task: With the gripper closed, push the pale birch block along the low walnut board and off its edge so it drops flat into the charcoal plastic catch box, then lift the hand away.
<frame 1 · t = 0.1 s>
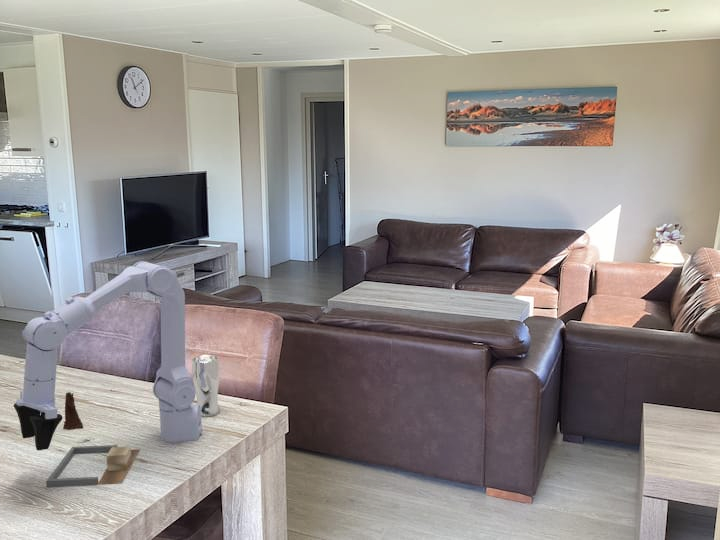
hand: (35, 443, 129), 11 cm above the table, tool pointing down, fingers open, 7 cm apart
birch block: (119, 465, 138), point 1 cm above the table, touching walnut board
walnut board: (120, 471, 138), on the table
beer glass: (207, 412, 169), on the table
chess piece: (73, 431, 159), on the table
catch box: (84, 473, 138), on the table
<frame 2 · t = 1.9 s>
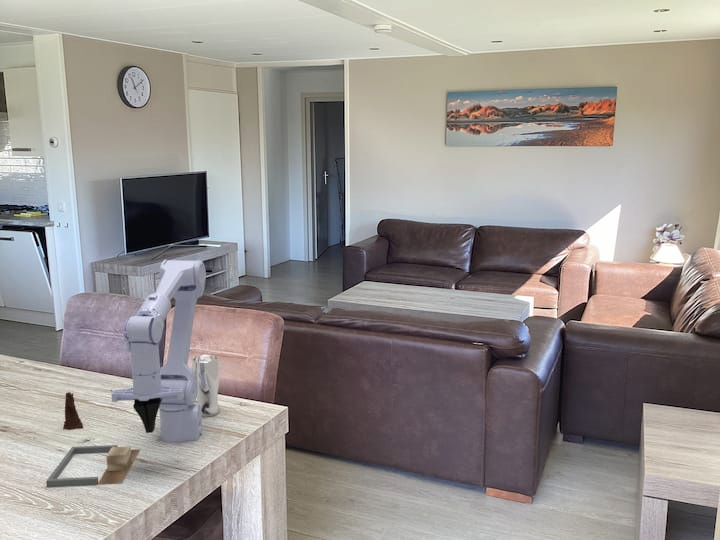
hand: (150, 430, 137), 9 cm above the table, tool pointing down, fingers closed
nothing on the table moved.
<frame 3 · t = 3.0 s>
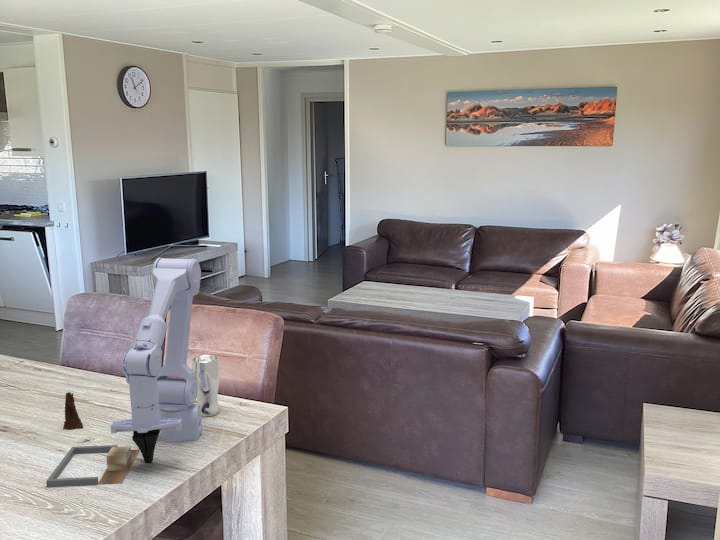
hand: (149, 461, 139), 2 cm above the table, tool pointing down, fingers closed
nothing on the table moved.
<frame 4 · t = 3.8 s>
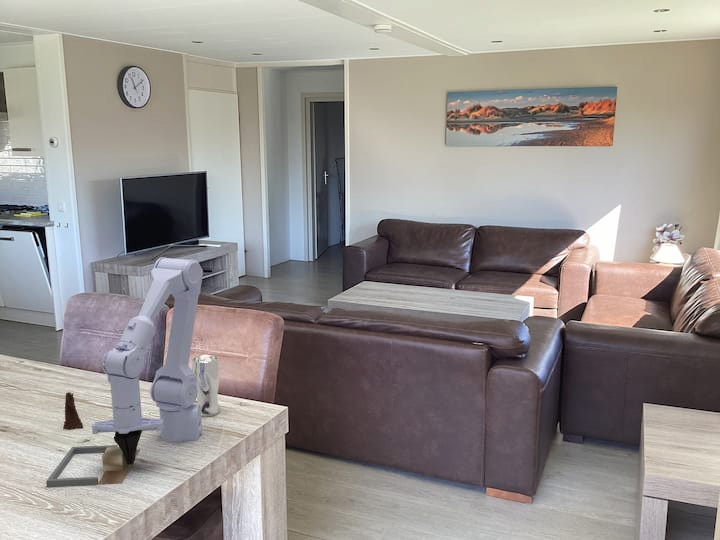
hand: (131, 462, 138), 2 cm above the table, tool pointing down, fingers closed
birch block: (115, 466, 138), point 1 cm above the table, touching gripper
everything else where it was.
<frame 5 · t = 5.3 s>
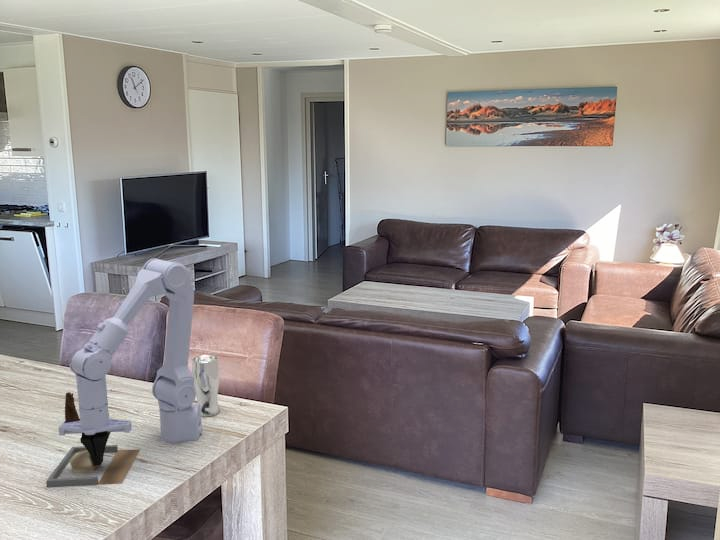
hand: (98, 463, 138), 2 cm above the table, tool pointing down, fingers closed
birch block: (87, 469, 138), point 1 cm above the table, tilted 12°, touching gripper
everything else where it was.
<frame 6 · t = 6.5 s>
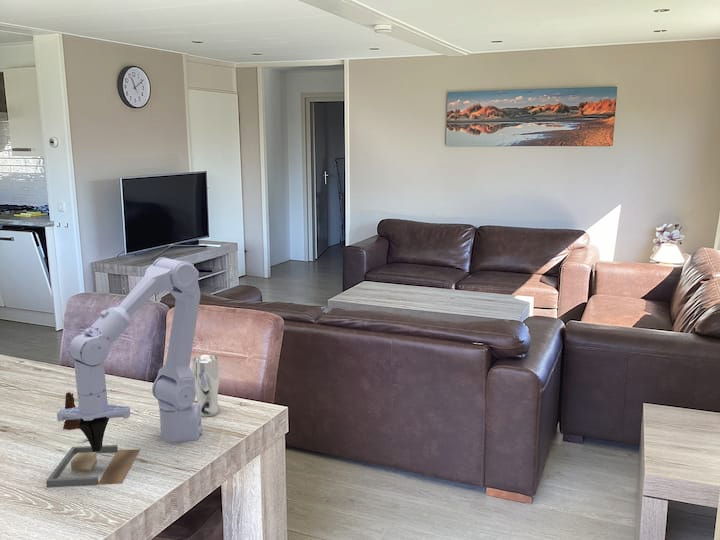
hand: (97, 449, 137), 5 cm above the table, tool pointing down, fingers closed
birch block: (84, 471, 138), resting on catch box
everything else where it was.
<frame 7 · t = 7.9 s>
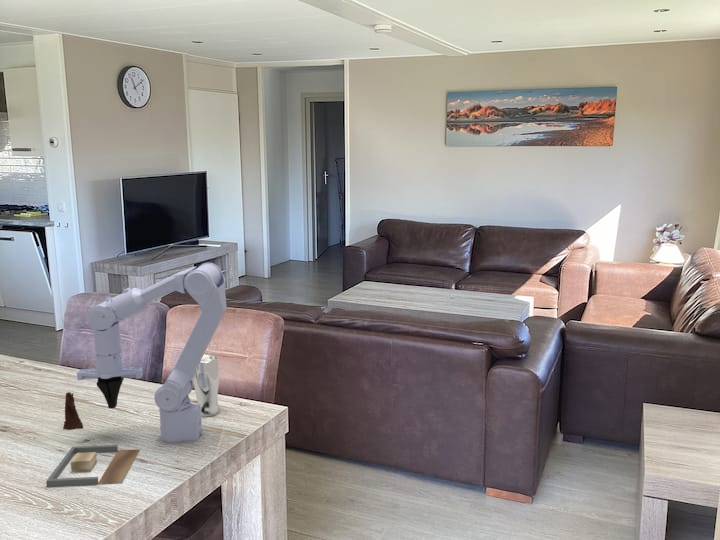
hand: (112, 406, 152), 8 cm above the table, tool pointing down, fingers closed
nothing on the table moved.
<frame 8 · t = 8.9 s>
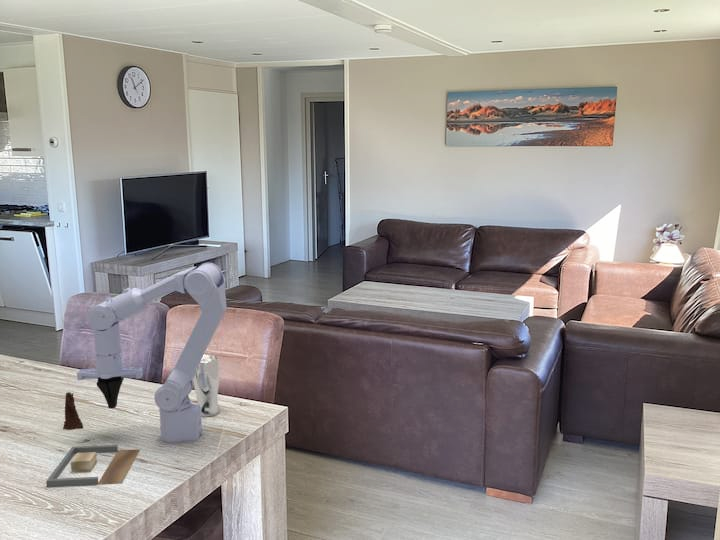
hand: (112, 406, 152), 8 cm above the table, tool pointing down, fingers closed
nothing on the table moved.
at the end: birch block inside the target area on the catch box (0.2 cm from its centre), point 0.2 cm above the catch box's base; birch block resting on catch box; the gripper is holding nothing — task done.
